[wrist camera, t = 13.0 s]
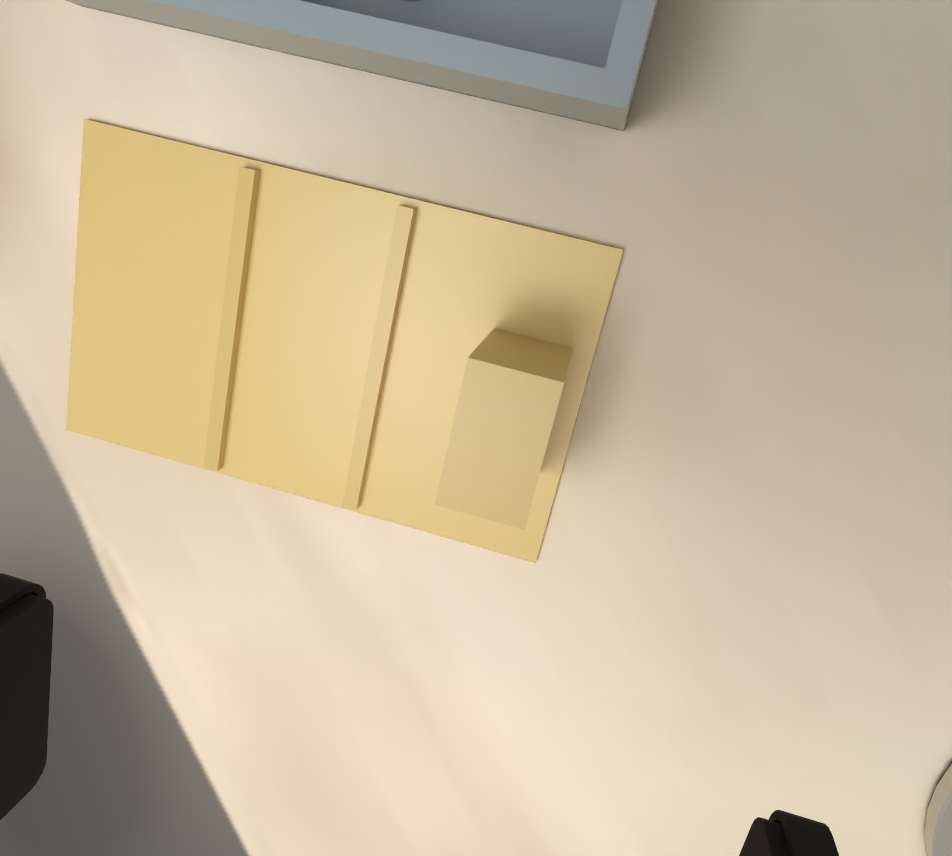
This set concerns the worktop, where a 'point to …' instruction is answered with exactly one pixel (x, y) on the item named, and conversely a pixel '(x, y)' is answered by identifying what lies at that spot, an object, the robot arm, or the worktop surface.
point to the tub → (445, 43)
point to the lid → (330, 337)
